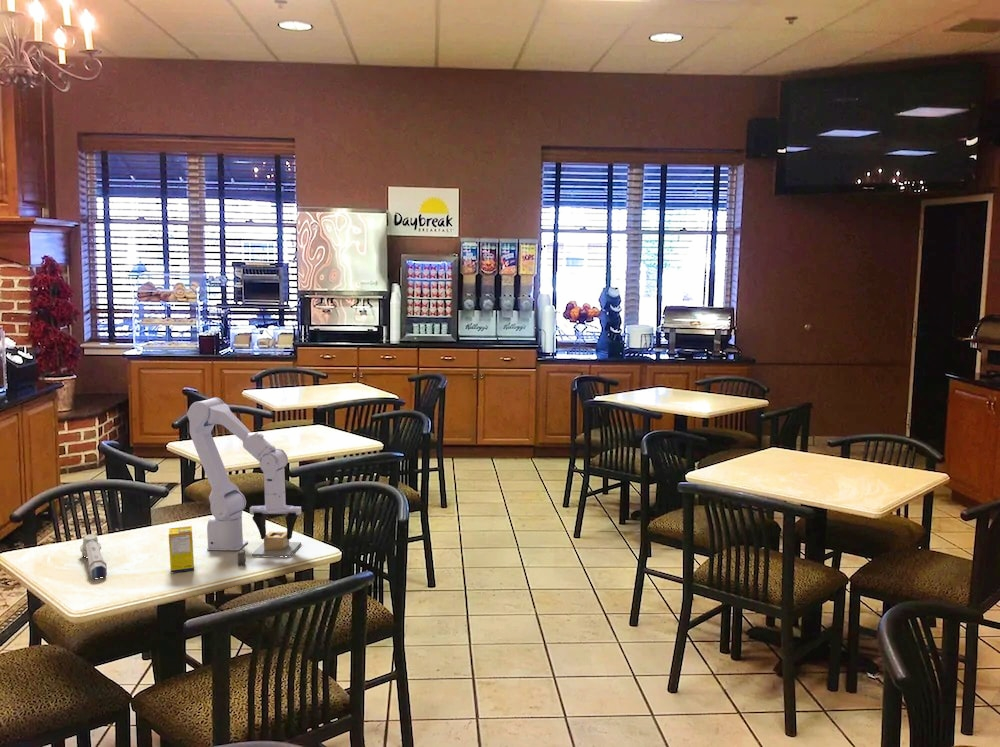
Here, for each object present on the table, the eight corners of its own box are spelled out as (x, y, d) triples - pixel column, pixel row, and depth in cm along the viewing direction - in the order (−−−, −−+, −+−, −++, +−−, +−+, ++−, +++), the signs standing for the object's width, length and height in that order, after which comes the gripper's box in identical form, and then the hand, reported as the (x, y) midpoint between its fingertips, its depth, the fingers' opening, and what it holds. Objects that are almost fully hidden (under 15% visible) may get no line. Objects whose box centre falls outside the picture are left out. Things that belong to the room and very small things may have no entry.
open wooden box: (264, 551, 239) (263, 537, 239) (270, 544, 245) (269, 531, 245) (283, 551, 239) (283, 537, 239) (289, 545, 245) (288, 531, 244)
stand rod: (236, 565, 230) (236, 553, 229) (239, 563, 232) (238, 550, 231) (243, 565, 230) (243, 553, 229) (246, 563, 232) (246, 550, 231)
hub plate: (251, 556, 237) (251, 541, 237) (264, 544, 248) (264, 530, 248) (289, 557, 237) (289, 542, 236) (301, 544, 247) (300, 530, 247)
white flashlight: (87, 567, 218) (78, 530, 239) (88, 590, 219) (79, 552, 240) (109, 564, 221) (99, 527, 241) (110, 587, 222) (99, 549, 243)
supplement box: (193, 563, 231) (191, 525, 230) (194, 570, 226) (192, 531, 225) (170, 566, 229) (168, 527, 228) (170, 573, 224) (168, 534, 223)
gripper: (245, 495, 237) (247, 542, 238) (295, 496, 236) (297, 542, 238) (253, 489, 244) (255, 534, 245) (302, 489, 243) (304, 535, 245)
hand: (276, 538), depth 242 cm, fingers open, 7 cm apart
